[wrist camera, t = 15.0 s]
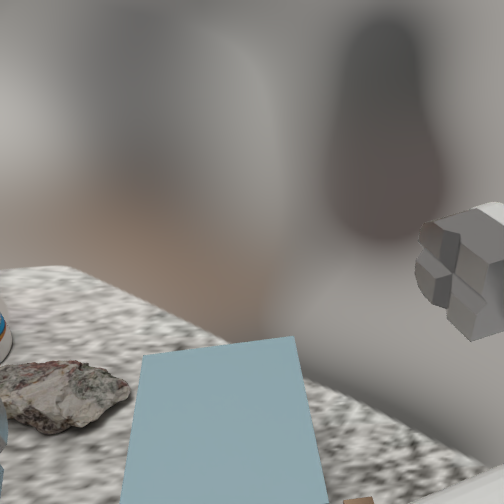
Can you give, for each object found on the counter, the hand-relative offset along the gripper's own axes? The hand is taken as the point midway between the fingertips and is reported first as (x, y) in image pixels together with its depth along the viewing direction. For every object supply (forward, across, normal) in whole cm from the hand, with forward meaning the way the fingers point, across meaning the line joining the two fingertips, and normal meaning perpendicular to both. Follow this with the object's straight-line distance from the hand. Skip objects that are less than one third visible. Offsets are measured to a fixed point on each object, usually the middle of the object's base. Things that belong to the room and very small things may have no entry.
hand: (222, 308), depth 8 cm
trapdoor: (+11, 0, +23) cm, 26 cm away
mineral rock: (+29, +14, +32) cm, 46 cm away
